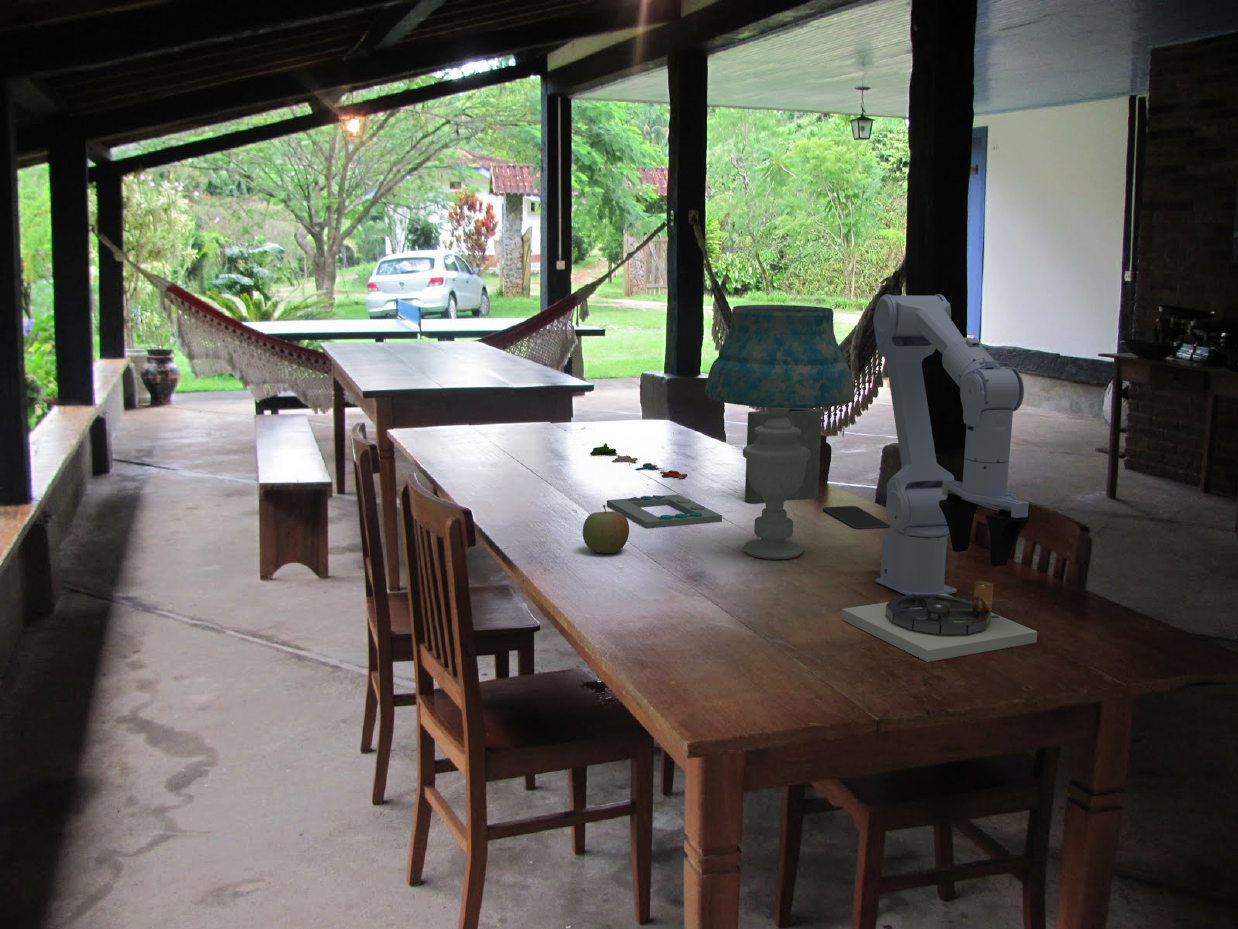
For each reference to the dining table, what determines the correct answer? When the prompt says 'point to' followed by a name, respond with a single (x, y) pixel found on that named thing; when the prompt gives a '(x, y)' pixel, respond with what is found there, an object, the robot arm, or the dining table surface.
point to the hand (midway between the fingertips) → (979, 558)
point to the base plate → (938, 645)
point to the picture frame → (647, 520)
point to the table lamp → (779, 401)
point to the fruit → (606, 531)
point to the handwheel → (944, 611)
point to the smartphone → (855, 517)
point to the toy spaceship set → (605, 451)
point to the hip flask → (808, 438)
